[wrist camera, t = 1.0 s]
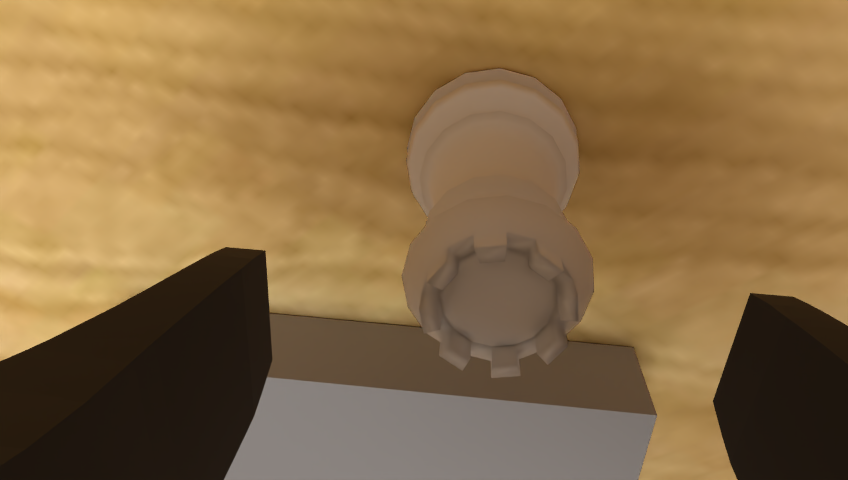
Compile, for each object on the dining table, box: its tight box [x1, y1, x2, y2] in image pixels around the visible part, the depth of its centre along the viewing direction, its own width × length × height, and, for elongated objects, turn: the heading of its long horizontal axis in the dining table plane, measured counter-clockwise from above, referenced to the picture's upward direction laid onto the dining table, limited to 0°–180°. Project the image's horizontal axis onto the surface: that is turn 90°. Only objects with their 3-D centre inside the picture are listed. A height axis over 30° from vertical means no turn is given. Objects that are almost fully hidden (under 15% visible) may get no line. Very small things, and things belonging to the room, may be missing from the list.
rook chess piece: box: [402, 68, 594, 378], centre depth 14 cm, size 4×4×8 cm
